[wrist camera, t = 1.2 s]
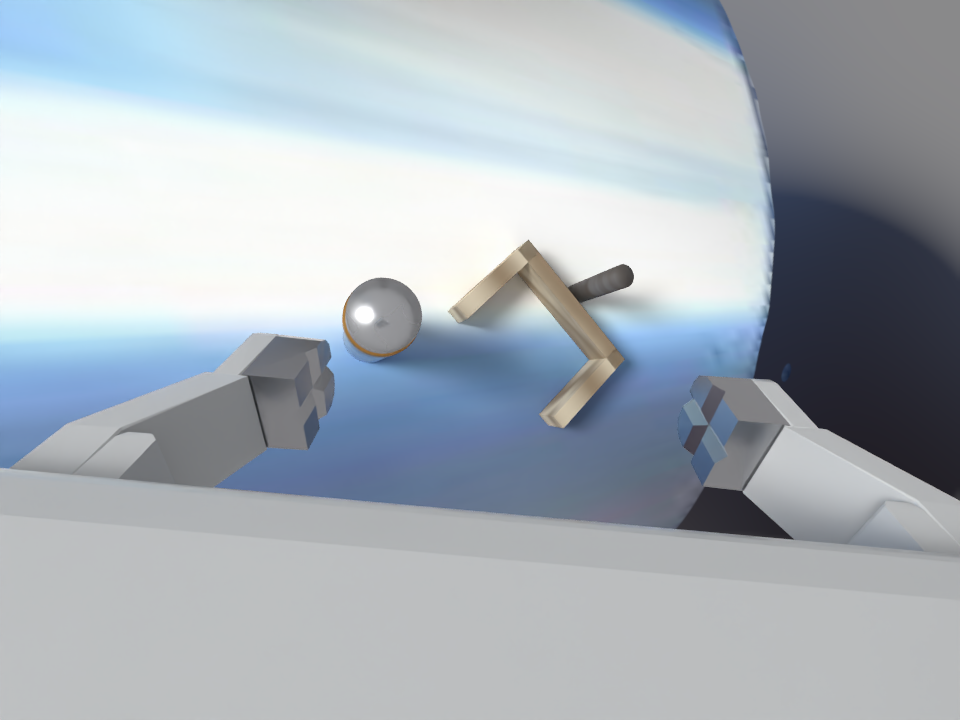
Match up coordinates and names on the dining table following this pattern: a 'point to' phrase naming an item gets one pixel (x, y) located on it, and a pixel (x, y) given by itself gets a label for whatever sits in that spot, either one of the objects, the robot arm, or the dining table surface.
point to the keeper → (559, 320)
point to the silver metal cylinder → (380, 319)
